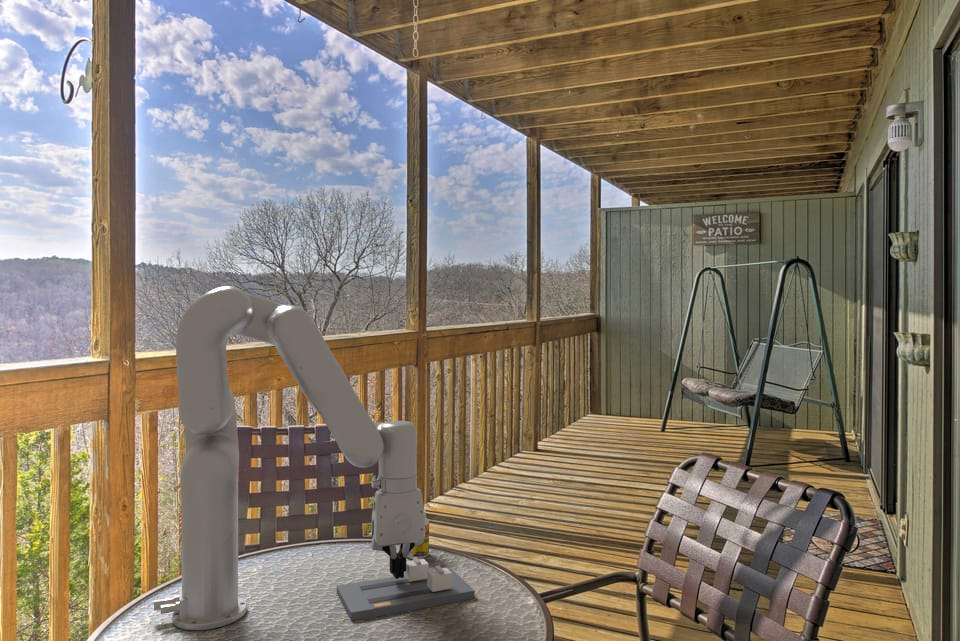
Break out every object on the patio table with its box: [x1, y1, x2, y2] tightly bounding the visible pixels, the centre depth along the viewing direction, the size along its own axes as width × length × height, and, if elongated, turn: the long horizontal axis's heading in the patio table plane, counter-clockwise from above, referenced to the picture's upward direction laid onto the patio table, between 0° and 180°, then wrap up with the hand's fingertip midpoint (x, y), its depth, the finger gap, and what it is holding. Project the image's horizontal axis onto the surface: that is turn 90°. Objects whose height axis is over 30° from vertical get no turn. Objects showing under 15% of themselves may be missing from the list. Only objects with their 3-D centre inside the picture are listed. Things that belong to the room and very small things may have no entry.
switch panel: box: [336, 567, 476, 622], centre depth 128 cm, size 24×13×2 cm, turn 114°
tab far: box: [404, 557, 430, 582], centre depth 132 cm, size 4×3×4 cm
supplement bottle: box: [406, 509, 430, 560], centre depth 150 cm, size 6×6×10 cm
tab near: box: [427, 565, 452, 592], centre depth 127 cm, size 4×3×4 cm
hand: (398, 575), depth 131 cm, fingers closed
